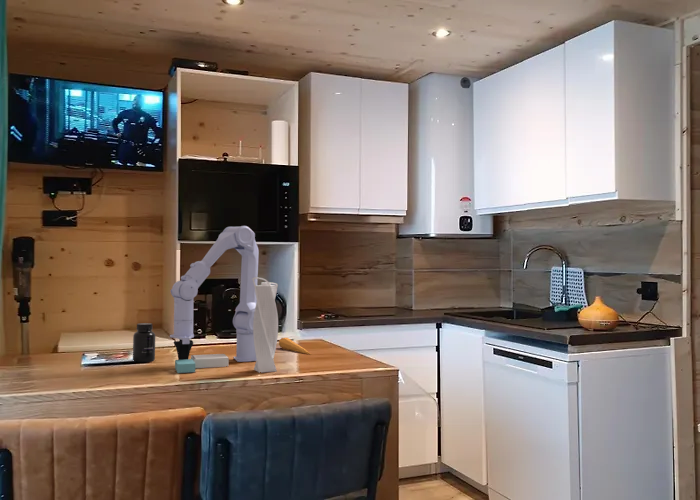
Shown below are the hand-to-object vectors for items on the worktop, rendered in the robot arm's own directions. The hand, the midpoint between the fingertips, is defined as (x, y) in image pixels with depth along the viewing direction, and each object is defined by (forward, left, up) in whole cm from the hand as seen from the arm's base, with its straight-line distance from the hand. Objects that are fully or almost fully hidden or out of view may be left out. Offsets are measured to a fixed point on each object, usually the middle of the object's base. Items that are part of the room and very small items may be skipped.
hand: (183, 364), depth 189 cm
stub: (0, +5, -1) cm, 5 cm away
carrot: (-41, -21, -1) cm, 46 cm away
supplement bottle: (+11, -16, -1) cm, 19 cm away
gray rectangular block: (-8, -2, -1) cm, 8 cm away
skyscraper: (-22, +12, -1) cm, 25 cm away
